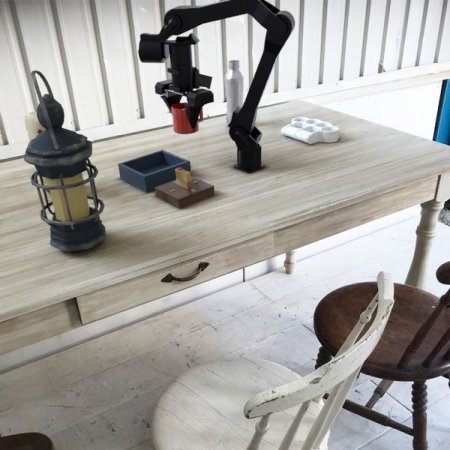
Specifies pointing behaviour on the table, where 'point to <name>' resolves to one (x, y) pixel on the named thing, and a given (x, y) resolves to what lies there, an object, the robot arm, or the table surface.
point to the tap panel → (184, 192)
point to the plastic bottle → (234, 88)
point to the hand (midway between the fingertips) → (186, 125)
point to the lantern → (64, 177)
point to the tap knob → (183, 178)
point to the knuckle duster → (311, 130)
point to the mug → (183, 119)
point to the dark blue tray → (152, 169)
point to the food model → (34, 132)
